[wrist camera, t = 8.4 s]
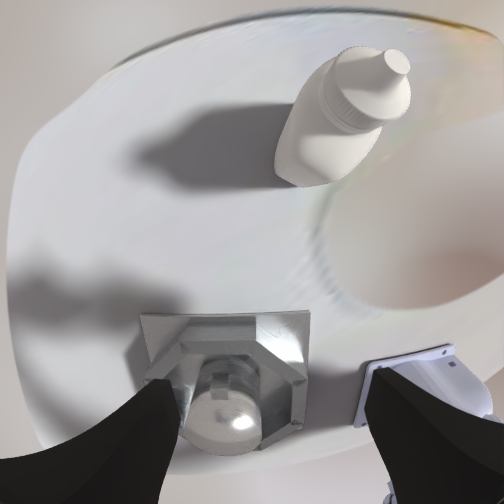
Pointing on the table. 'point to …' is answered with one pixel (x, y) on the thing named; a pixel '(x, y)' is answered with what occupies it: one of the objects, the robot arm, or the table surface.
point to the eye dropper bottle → (341, 115)
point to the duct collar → (236, 348)
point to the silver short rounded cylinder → (225, 409)
